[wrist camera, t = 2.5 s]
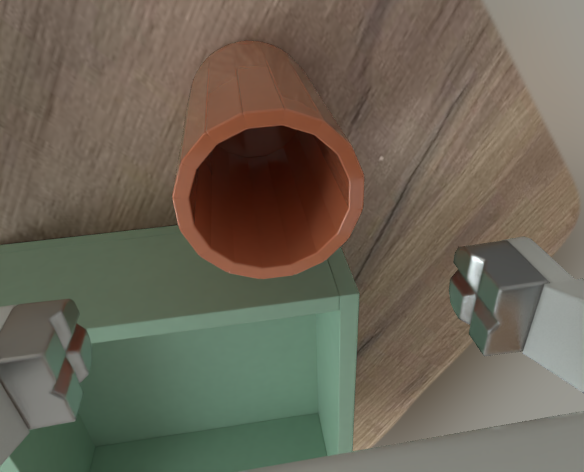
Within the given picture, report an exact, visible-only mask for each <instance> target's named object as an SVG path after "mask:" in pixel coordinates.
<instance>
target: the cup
mask: <svg viewBox="0 0 584 472" xmlns="http://www.w3.org/2000/svg"><path fill="white" fill-rule="evenodd" d="M364 182H365V177H364V173H363V171H362V168H361V166H360V163H359V161H358V159H357V156H356V154H355V152H354V149H353V147H352V145H351V144H350V142H349V140H348V139H347V137H346V136H345V134H344V133H343V131H342V130H341V128H340V126H339V125H338V123H337V122H336V120H335V119H334V117H333V116H332V114H331V112H330V111H329V109H328V108H327V106H326V105H325V103H324V102H323V100H322V98H321V97H320V95H319V94H318V92H317V91H316V89H315V88H314V86H313V84H312V83H311V81H310V80H309V78H308V77H307V75H306V74H305V72H304V71H303V69H302V68H301V67H300V66H299V65H298V64H297V62H296V61H295V60H294V59H293V58H292V57H291V56H290V55H288V54H287V53H286V52H285V51H283V50H281V49H280V48H278V47H276V46H273V45H271V44H268V43H264V42H260V41H240V42H235V43H232V44H228V45H226V46H224V47H222V48H220V49H218V50H217V51H215V52H214V53H212V54H211V55H210V56H209V57H208V58H207V59H206V60H205V61H204V62H203V63H202V65H201V66H200V68H199V69H198V71H197V73H196V75H195V77H194V79H193V82H192V86H191V91H190V95H189V99H188V104H187V110H186V116H185V122H184V128H183V134H182V140H181V145H180V151H179V157H178V163H177V169H176V175H175V181H174V187H173V193H172V200H173V205H174V209H175V214H176V218H177V223H178V227H179V229H180V232H181V233H182V234H183V235H184V237H185V238H186V239H187V241H188V242H189V243H190V245H191V246H192V247H193V249H194V250H195V251H196V253H197V254H198V255H199V256H200V257H201V258H203V259H205V260H207V261H208V262H210V263H212V264H213V265H215V266H217V267H218V268H220V269H222V270H223V271H225V272H228V273H230V274H235V275H240V276H246V277H251V278H256V279H269V278H277V277H285V276H293V275H294V274H295V275H296V274H298V273H300V272H303V271H305V270H307V269H309V268H311V267H314V266H316V265H318V264H320V263H322V262H324V260H327V259H328V258H329V257H330V256H331V255H332V254H333V253H334V252H335V251H336V250H337V249H338V248H339V247H341V246H342V245H343V244H344V243H345V242H346V241H347V240H348V238H349V237H350V235H351V233H352V231H353V229H354V227H355V225H356V223H357V221H358V219H359V217H360V215H361V213H362V210H363V205H364Z"/></svg>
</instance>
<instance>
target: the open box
mask: <svg viewBox="0 0 584 472" xmlns="http://www.w3.org/2000/svg"><path fill="white" fill-rule="evenodd" d="M60 299H71V300H73V301H74V302H75V304H76V306H77V308H78V310H79V312H80V315H79V318H78V321H77V324H79V325H80V326H82V327H83V328H85V329H87V332H88V334H89V337H90V341H91V346H92V364H91V368H90V372H89V375H88V376H87V377H86V378H85V379H84V380H83V381H82V382H81V383H80V385H81V388H82V390H83V392H84V394H83V397H82V401H81V404H80V408H79V411H78V415H77V418H76V421H74V422H69V423H64V424H58V425H53V426H47V427H42V428H37V429H31V430H29V431H30V433H29V434H28V435H27V436H26V437H25V438H24V440H23V441H22V442H21V443H20V444H19V445H18V446H17V448H16V449H15V450H14V451H13V452H12V453H11V454H10V456H9V457H8V458H7V459H6V460H5V461H4V463H3V464H2V465H1V466H0V472H238V471H244V470H249V469H255V468H261V467H267V466H272V465H278V464H284V463H290V462H295V461H301V460H307V459H312V458H318V457H324V456H330V455H335V454H341V453H347V452H352V449H353V427H354V405H355V382H356V360H357V338H358V315H359V291H358V289H357V286H356V284H355V281H354V279H353V276H352V274H351V271H350V269H349V266H348V264H347V261H346V259H345V256H344V254H343V251H342V249H341V247H339V248H338V249H337V250H336V251H335V252H334V253H333V254H332V255H331V256H330V257H329V258H328V259H327V260H324V262H322V263H320V264H318V265H316V266H314V267H311V268H309V269H307V270H305V271H303V272H300V273H298V274H296V275H295V274H294V275H293V276H285V277H277V278H269V279H256V278H251V277H246V276H240V275H235V274H230V273H228V272H225V271H223V270H222V269H220V268H218V267H217V266H215V265H213V264H212V263H210V262H208V261H207V260H205V259H203V258H201V257H200V256H199V255H198V254H197V253H196V251H195V250H194V249H193V247H192V246H191V245H190V243H189V242H188V241H187V239H186V238H185V237H184V235H183V234H182V233H181V232H180V229H179V227H178V225H175V226H166V227H157V228H148V229H139V230H130V231H121V232H112V233H103V234H94V235H85V236H76V237H68V238H59V239H50V240H41V241H32V242H23V243H14V244H5V245H0V307H1V306H9V305H18V304H25V303H34V302H43V301H51V300H60Z"/></svg>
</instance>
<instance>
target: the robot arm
mask: <svg viewBox="0 0 584 472" xmlns="http://www.w3.org/2000/svg"><path fill="white" fill-rule="evenodd" d="M453 263H454V264H455V265H456V267H457V268H458V270H457V272H456V273H455V274H454V275H453V276H452V277H451V278H450V285H449V295H450V302H451V305H452V307H453V310H454V312H455V313H456V315H457V316H458V318H459V319H460V320H462V321H464V322H465V323H467V324H469V325H470V330H469V335H470V336H471V338H472V339H473V341H474V342H475V343H476V345H477V347H478V348H479V349H480V351H481V352H482V354H483V355H484V356H491V355H498V354H505V353H513V352H521V351H523V354H525V355H526V356H528V357H529V358H531V359H532V360H534V361H535V362H537V363H538V364H540V365H541V366H543V367H544V368H546V369H547V370H549V371H550V372H552V373H554V374H555V375H557V376H558V377H560V378H561V379H563V380H564V381H566V382H567V383H569V384H570V385H572V386H573V387H575V388H576V389H578V390H580V391H581V392H582V393H584V279H576V280H575V279H574V278H573V277H572V276H571V275H570V274H569V273H567V271H566V270H564V269H563V268H562V267H561V266H560V265H559V264H558V263H557V262H556V261H555V260H554V259H552V258H551V257H550V256H549V255H548V254H547V253H546V252H545V251H544V250H543V249H541V248H540V247H539V246H538V245H537V244H536V243H535V242H534V241H533V240H532V239H530V238H527V237H517V238H511V239H505V240H502V241H497V242H490V243H482V244H475V245H468V246H461V247H458V248H457V250H456V252H455V255H454V261H453ZM79 315H80V312H79V310H78V308H77V306H76V304H75V302H74V301H73V300H71V299H60V300H51V301H43V302H34V303H25V304H18V305H9V306H1V307H0V466H1V465H2V464H3V463H4V461H5V460H6V459H7V458H8V457H9V456H10V454H11V453H12V452H13V451H14V450H15V449H16V448H17V446H18V445H19V444H20V443H21V442H22V441H23V440H24V438H25V437H26V436H27V435H28V434H29V433H30V431H29V430H31V429H37V428H42V427H47V426H53V425H58V424H64V423H69V422H74V421H76V418H77V415H78V411H79V408H80V404H81V401H82V397H83V394H84V392H83V390H82V388H81V385H80V383H81V382H82V381H83V380H84V379H85V378H86V377H87V376H88V375H89V372H90V368H91V364H92V346H91V341H90V337H89V334H88V332H87V329H85V328H83V327H82V326H80V325H79V324H77V321H78V318H79ZM238 472H584V411H581V412H576V413H569V414H564V415H558V416H553V417H546V418H541V419H535V420H530V421H524V422H518V423H512V424H506V425H501V426H495V427H490V428H484V429H478V430H472V431H467V432H461V433H455V434H449V435H444V436H438V437H433V438H427V439H421V440H415V441H410V442H404V443H399V444H393V445H387V446H381V447H376V448H370V449H364V450H358V451H353V452H347V453H341V454H335V455H330V456H324V457H318V458H312V459H307V460H301V461H295V462H290V463H284V464H278V465H272V466H267V467H261V468H255V469H249V470H244V471H238Z"/></svg>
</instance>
